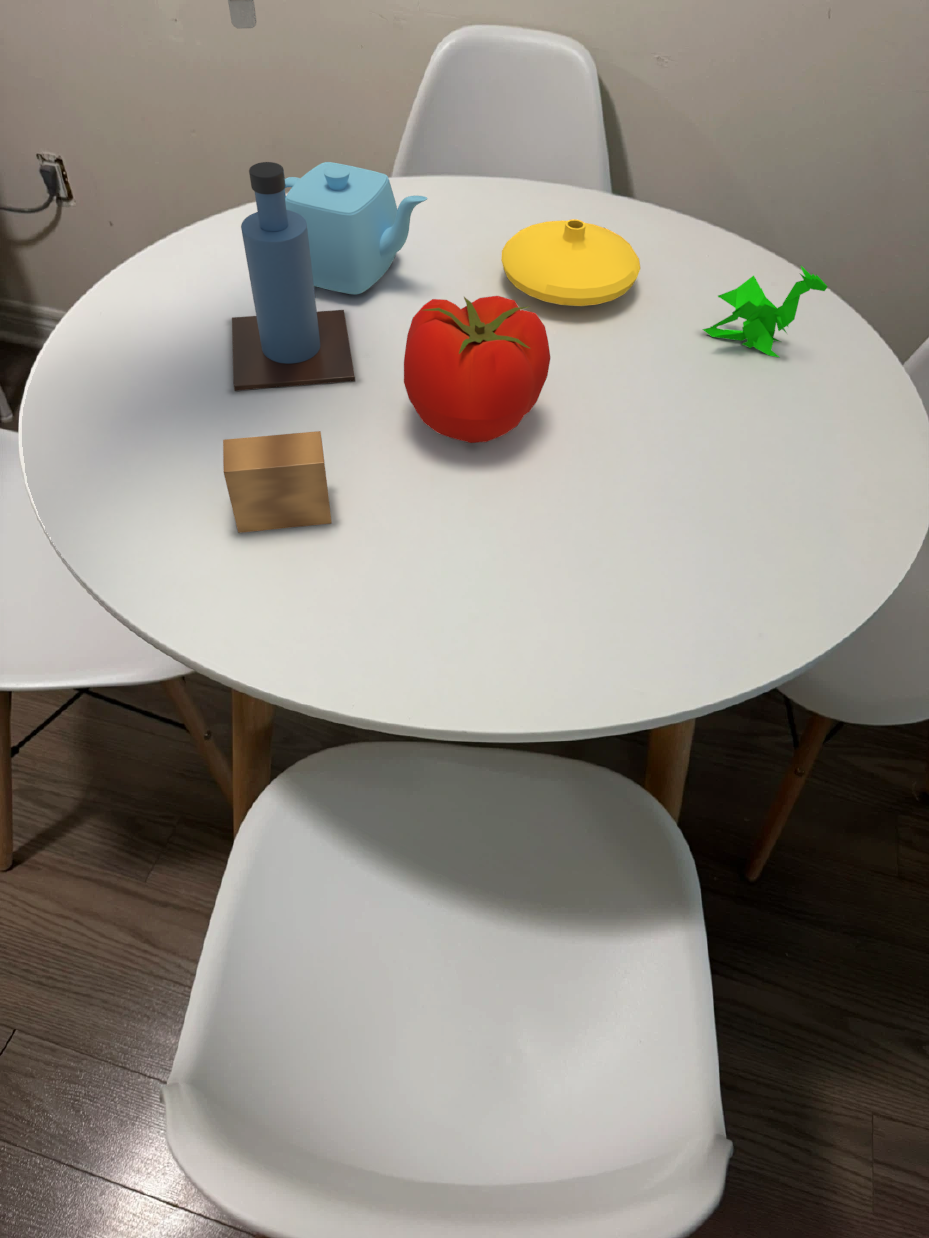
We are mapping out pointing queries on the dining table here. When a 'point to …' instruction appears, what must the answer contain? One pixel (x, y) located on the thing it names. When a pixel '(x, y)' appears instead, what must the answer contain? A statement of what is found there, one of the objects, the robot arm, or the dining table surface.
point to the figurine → (762, 312)
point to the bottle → (280, 270)
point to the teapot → (350, 224)
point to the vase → (570, 263)
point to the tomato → (475, 366)
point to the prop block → (277, 481)
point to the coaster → (319, 369)
